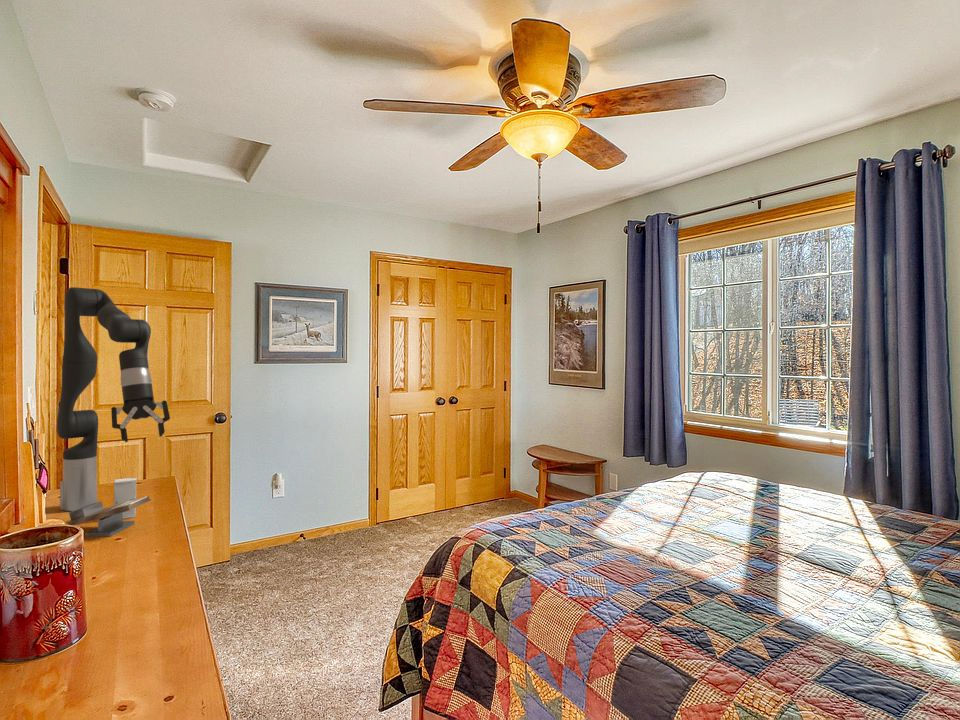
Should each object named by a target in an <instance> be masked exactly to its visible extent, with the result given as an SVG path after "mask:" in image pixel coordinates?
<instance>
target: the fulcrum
mask: <svg viewBox="0 0 960 720" xmlns="http://www.w3.org/2000/svg"><path fill="white" fill-rule="evenodd" d="M134 525H135V520H123V512H122V513H118V514H115V515H111V516H107V517H104V518H100V519H97V527H96V528H94V529H92V530H89V531H87V532H85V533H84V534H85V537H86V536H87V537H88V538H90V537H92V538H93V537H94V538H95V537H99V538H101V537H102V538H103V537H107V538H108V537H112V536H114V535H117V534H119V533H120V532H121V531H124V530H125V529H128V528H130V527H131V526H134Z"/></svg>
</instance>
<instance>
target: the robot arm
mask: <svg viewBox="0 0 960 720" xmlns="http://www.w3.org/2000/svg"><path fill="white" fill-rule="evenodd" d="M80 317H96V319H97V322H98V323H99V325H100V326H102V327H103V328H104V330H107V333H108V336H109V339H110V340H111V341H113V342H115V343H120V344H121V343H123V344H124V343H130V344H132V343H134V344H135V346H134V348H129V349H125V350H122V351H120V352H119V354H118V358H119V359H118V360H119V361H118V362H119V367H120V368H119V369H120V385H121V392H122V399H123V400H122V401H123V406H120V407H119V406H118V407H117V406H116V407H115V406H111V410H110V411H111V427H112V429H115V430H119V431H120V436H121V438H120V439H121V440H122V441H124V443H128V442H129V440H128V439H129V438H128V432H127V428H126V427H127V426H128V425H129V423H130V422H131V420H135V421H137V420H140V419H149V418H151V419H152V420H154V421H155V422H156V423H157V428H158V436H159V437H163V435H164V434H165V425H164V423H165V422H169V420H170V419H171V416H170V412H169V405H168V402H167V400H162V401H158V402H157V401H155V398H154V397H155V396H154V391H153V389H154V388H153V383H152V382H153V380H152V377H151V371H150V367H149V361H148V360H149V359H148V352H149V351H148V350H149V343H150V339H151V332H152V329H151V326H150V323H148V321H147V320H144V319H140V318H139V319H137V318H136V319H134V318H131V317H130V315H128V314H127V313H125V312H124V311H123V310H121V309H120V308H119V307H117V306H116V304H115V303H114V301H113V299H112V298H111V297H110V296H109V295H108V293H106V292H105V291H103V290H101V289H97V288H87V287H86V288H85V287H76V286H74V287H72V286H71V287H69V288H68V289H67V290H66V292H65V295H64V343H63V353H62V365H61V366H62V367H61V392H60V399H59V407H58V413H57V420H56V432H57V433H56V434H57V437H59V438H60V439H63V440H65V439H67V440H68V439H78V438H82V440H81V441H80V442H79V443H77V444H75V445H72V446H70V447H68V448H66V449H64V450H63V452H62V466H63V467H62V471H63V474H62V477H63V479H62V481H60V482H59V505H60V506H59V508H60V509H59V510H60V511H61V510H62V511H66V512H72V511H74V510H77V509H79V508H82V507H84V506H87V505H89V504H93V503H97V502H98V462H97V461H98V452H97V451H98V438H99V437H98V435H99V416H98V413H97V411H95V410H93V409H84V410H83V409H82V410H81V409H80V410H74V409H75V405H76V403H77V400H78V398H79V397H80V395H81V394H82V393H83V392H84V391H85V390H86V388H87V387H88V386H90V384H91V383H92V382H93V380H94V379H95V377H96V375H97V371H98V368H97V367H98V353H97V351H96V350H95V348H94V346H93V345H92V343H91V342H90V341H89V339H88V338H87V337H86V335H85V333H84V332H83V329H82V327H81V318H80ZM156 407H159V409H161V410H162V412H163V416H164V417H160V416H159V415H158V413H156V412H155V410H156ZM121 412H124V413H125V415H127V416H126V417H125V418H124V420H123V422H122V423H121V424H120V423H118V416H119V415H120V414H121Z"/></svg>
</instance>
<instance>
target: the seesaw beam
mask: <svg viewBox="0 0 960 720" xmlns="http://www.w3.org/2000/svg"><path fill="white" fill-rule="evenodd" d="M148 502H151V499H150V496H149V495H148V496H144V497H139V498H136V499H135V500H132V501H128V502H125V503H122V504H118V505H114V504H113V505H111V506H107V507H104V505H103V501H97V503H93V504H89V505H87V506H84V507H82V508H79V509H77V510H74V511H68V515H69V518H70V520H68V521H67V522H66V523H67V524H69V525H74V526H78V525H81V524H85V523H89V522H92V521H95V520H99V519H101V518H104V517H107V516H111V515H115V514H118V513H122V512H126V511H129V510H132V509H134V508H136V509H137V508H138V507H141V506H142V505H144V504H146V503H148ZM67 524H66V525H67Z"/></svg>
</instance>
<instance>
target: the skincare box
mask: <svg viewBox="0 0 960 720" xmlns="http://www.w3.org/2000/svg"><path fill="white" fill-rule="evenodd" d="M113 483H114V484H113V506H114V505H118V504H122V503H125V502H128V501H132V500H135V499H137V477H127V478H118V479H114V482H113ZM136 511H137V507H136V508H134V509H132V510H129V511H126V512H123V519H130V518H135V517H136V514H137V513H136Z"/></svg>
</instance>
